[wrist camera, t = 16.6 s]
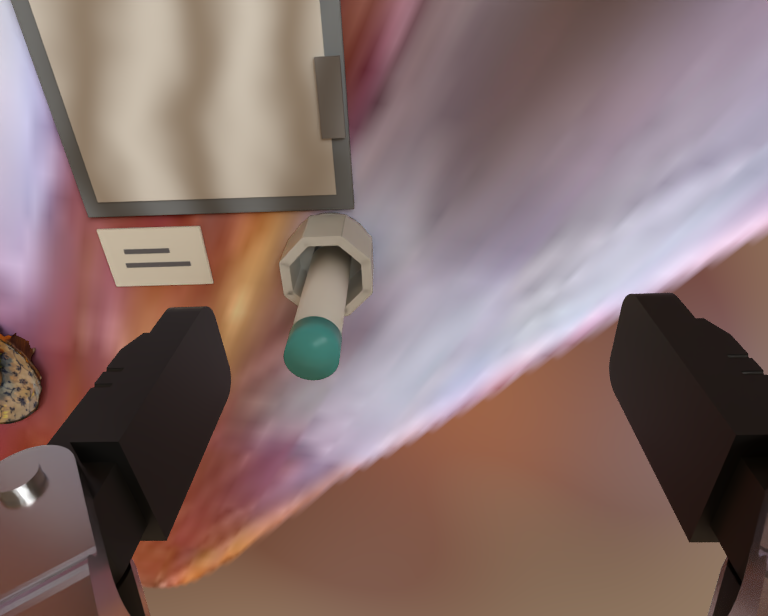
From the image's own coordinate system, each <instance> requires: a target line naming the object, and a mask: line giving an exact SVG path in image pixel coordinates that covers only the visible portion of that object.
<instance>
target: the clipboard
mask: <svg viewBox="0 0 768 616" xmlns="http://www.w3.org/2000/svg"><path fill="white" fill-rule="evenodd" d="M11 2H12V5H13V8H14V11H15V13H16V16H17V19H18V22H19V25H20V27H21V30H22V33H23V36H24V39H25V41H26V44H27V47H28V50H29V52H30V55H31V58H32V61H33V64H34V66H35V69H36V72H37V75H38V78H39V80H40V83H41V86H42V89H43V91H44V94H45V97H46V100H47V103H48V105H49V108H50V111H51V114H52V117H53V119H54V122H55V125H56V128H57V130H58V133H59V136H60V139H61V142H62V144H63V147H64V150H65V153H66V156H67V158H68V161H69V164H70V167H71V169H72V172H73V175H74V178H75V181H76V183H77V186H78V189H79V192H80V195H81V197H82V200H83V203H84V206H85V208H86V211H87V214H88V217H114V216H145V215H177V214H208V213H239V212H270V211H301V210H332V209H354V195H353V180H352V166H351V151H350V137H349V122H348V108H347V93H346V78H345V64H344V49H343V35H342V20H341V6H340V0H11Z"/></svg>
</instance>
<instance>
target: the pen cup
mask: <svg viewBox="0 0 768 616" xmlns="http://www.w3.org/2000/svg"><path fill="white" fill-rule="evenodd" d="M336 245H338V246H340V247H341V248H342V249H343V250H344V251H346V252H347V253H348V254H349V255H351V256H352V260H351V268H350V275H349V283H348V290H347V298H346V305H345V313H344V316H348V315H350V314H351V313H352V312H353V311H354V310H355V309H356V308H357V307H358V306H360V305H361V304H362V303H363V302H364V301H365V300H366V299H367V298H368V297H369V296H370V295H371V294H372V293H373V272H374V264H373V244H372V236H370V235H369V234H368V233H367V231H366V230H365V229H364V227H363V226H362V225H361V224H360V223H358V222H357V221H356V220H354V219H352V218H351V217H349V216H347V215H345V214H340V213H330V212H328V213H320V214H317V215H310V216H309V217H308V218H307V219H306V220H305V221H304V222H303V223H301V224H300V225H299V227H298V228H297V229H296V231H295V232H294V234H293V235H292V236H291V237H290V238H289V239H288V242H287V244H286V247H285V249H284V252H283V254H282V257H281V259H280V262H279V267H280V273H281V280H282V286H283V292H284V295H285V297H286V298H288V299H289V300H291V301H292V302H293V303H295V304H296V305H297V306H298V305H299V301H300V298H301V294H302V291H303V287H304V284H305V280H306V277H307V273H308V270H309V266H310V263H311V259H312V256H313V252H314V249H315V246H336Z"/></svg>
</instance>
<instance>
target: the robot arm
mask: <svg viewBox="0 0 768 616" xmlns="http://www.w3.org/2000/svg"><path fill="white" fill-rule="evenodd" d="M609 372H610V381H611V385H612V388H613V391H614V393H615V395H616V397H617V399H618V401H619V403H620V405H621V407H622V409H623V411H624V413H625V415H626V417H627V419H628V421H629V423H630V425H631V427H632V429H633V431H634V433H635V435H636V437H637V439H638V441H639V443H640V445H641V447H642V449H643V451H644V453H645V455H646V457H647V459H648V461H649V463H650V465H651V467H652V469H653V471H654V472H655V475H656V477H657V479H658V481H659V483H660V484H661V487H662V489H663V491H664V493H665V495H666V496H667V499H668V500H669V503H670V504H671V506H672V508H673V510H674V513H675V514H676V516H677V518H678V520H679V522H680V524H681V526H682V528H683V530H684V532H685V534H686V536H687V538H688V540H689V542H720V544H721V546H722V548H723V550H724V551H725V553H726V555H727V557H726V559H725V561H724V563H723V565H722V568H721V571H720V574H719V578H718V581H717V585H716V588H715V592H714V595H713V599H712V603H711V606H710V609H709V613H708V616H768V375H764V374H763V370H762V369H761V367H760V366H759V365H758V364H757V363H756V362H755V361H754V360H753V359H752V358H749V357H748V353H747V352H746V351H745V350H744V349H743V348H742V347H741V345H740V344H739V343H738V342H737V341H736V340H735V339H734V338H733V337H732V336H731V335H730V334H729V333H727V332H726V331H724V330H722V329H720V328H719V327H717V326H715V325H714V324H712V323H711V322H709V321H707V320H706V319H704V318H697V319H696V318H695V317H694V316H693V315H692V313H690V311H689V310H688V309H687V308H686V306H685V305H684V304H683V303H682V302H681V301H680V299H679V298H678V297H677V296H676V295H675V294H673V293H648V294H629V295H627V296H626V297H625V299H624V301H623V304H622V307H621V312H620V316H619V321H618V325H617V330H616V334H615V339H614V343H613V348H612V352H611V357H610V364H609ZM94 384H95V387H94V388H91V389H90V390H89V391H88V392H87V394H86V395H85V396H84V398H83V399H82V400H81V401H80V403H79V404H78V405H77V407H76V408H75V409H74V410H73V412H72V413H71V414H70V416H69V417H68V418H67V420H66V421H65V422H64V423H63V425H62V426H61V427H60V429H59V430H58V431H57V432H56V434H55V435H54V436H53V438H52V439H51V440H50V441H49V443H48V444H47V445H43V446H37V447H33V448H29V449H26V450H23V451H20V452H18V453H16V454H13V455H11V456H9V457H7V458H6V459H4V460H2V461H0V616H150V612H149V609H148V605H147V602H146V599H145V595H144V592H143V588H142V585H141V582H140V578H139V575H138V572H137V568H136V566H135V563H134V561H133V560H132V556H133V554H134V552H135V550H136V548H137V546H138V544H139V542H140V541H167V538H168V536H169V534H170V531H171V529H172V527H173V524H174V522H175V520H176V517H177V515H178V513H179V510H180V508H181V506H182V503H183V501H184V499H185V497H186V494H187V492H188V490H189V487H190V485H191V483H192V480H193V478H194V476H195V473H196V471H197V469H198V466H199V464H200V462H201V459H202V457H203V455H204V452H205V450H206V448H207V445H208V443H209V441H210V438H211V436H212V434H213V431H214V429H215V427H216V424H217V422H218V420H219V417H220V415H221V413H222V410H223V408H224V406H225V403H226V401H227V399H228V396H229V392H230V385H231V374H230V367H229V363H228V360H227V356H226V353H225V349H224V346H223V342H222V339H221V336H220V332H219V329H218V325H217V322H216V318H215V315H214V313H213V311H212V310H211V308H209V307H174V308H169V309H167V310H166V311H165V313H164V314H163V315H162V317H161V318H160V319H159V321H158V322H157V324H156V325H155V326H154V328H153V329H152V330H151V332H150V333H143V334H142V335H140V336H139V337H137V338H136V339H135V340H133V341H132V342H131V343H129V344H128V345H126V346H125V347H124V348H122V349H121V350H120V351H119V353H118V354H117V355H116V356H115V358H114V359H113V360H112V362H111V363H110V364H109V365H108V367H107V371H106V372H103V373H102V374H101V376H100V377H99V378H98V380H97V381H96V382H95V383H94Z"/></svg>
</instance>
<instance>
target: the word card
mask: <svg viewBox="0 0 768 616" xmlns="http://www.w3.org/2000/svg"><path fill="white" fill-rule="evenodd" d="M97 233H98V236H99V238H100V241H101V244H102V247H103V250H104V252H105V255H106V258H107V261H108V264H109V267H110V269H111V272H112V275H113V278H114V281H115V283H116V286H117V287H118V286H152V285H186V284H213V283H214V282H213V278H212V273H211V269H210V265H209V261H208V257H207V252H206V248H205V244H204V240H203V236H202V232H201V227H200V226H177V227H146V228H114V229H97Z"/></svg>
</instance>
